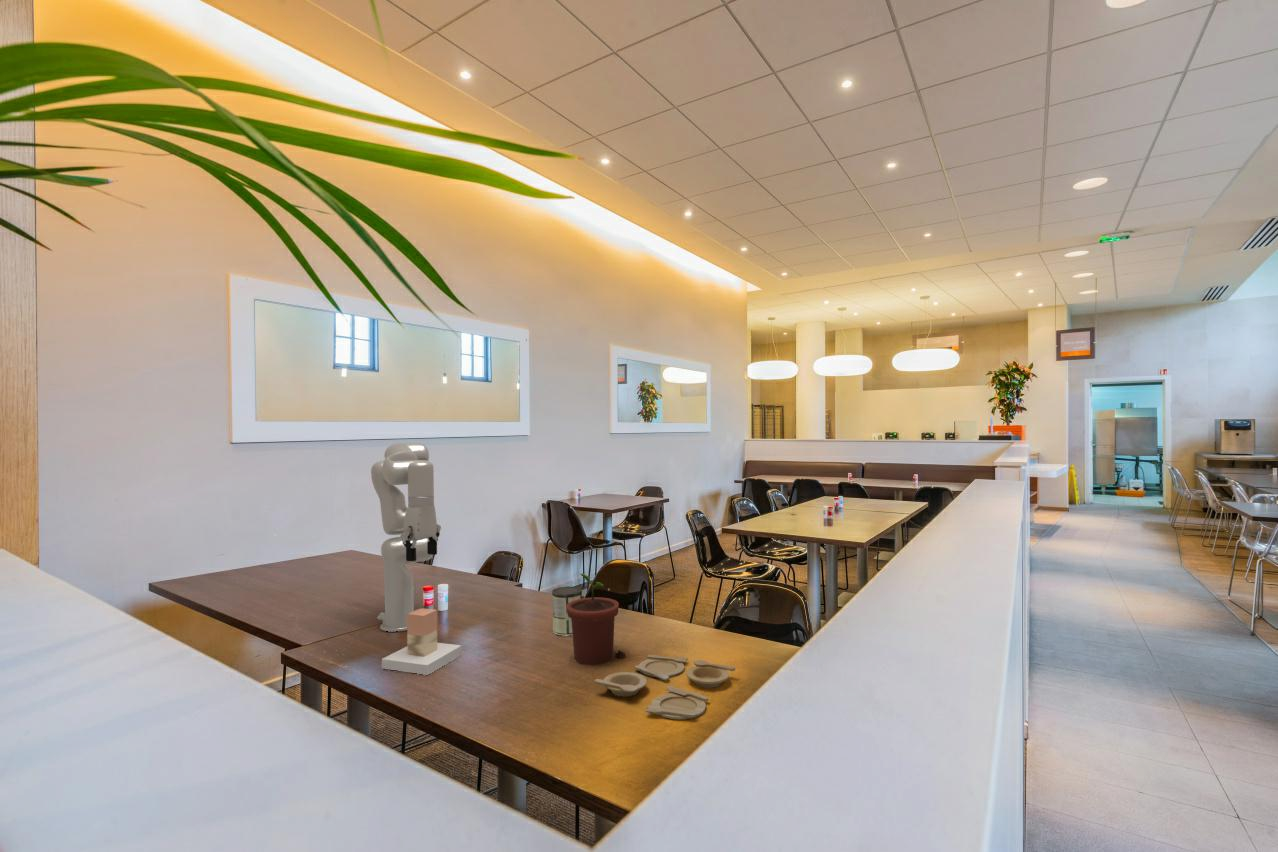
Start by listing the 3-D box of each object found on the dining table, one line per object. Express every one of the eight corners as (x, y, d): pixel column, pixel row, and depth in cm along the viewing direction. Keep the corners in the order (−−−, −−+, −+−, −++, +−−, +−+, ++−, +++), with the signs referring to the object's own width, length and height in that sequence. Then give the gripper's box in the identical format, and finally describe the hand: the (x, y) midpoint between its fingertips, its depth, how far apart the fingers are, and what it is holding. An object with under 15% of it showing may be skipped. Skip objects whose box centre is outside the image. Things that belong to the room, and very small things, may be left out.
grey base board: (381, 669, 175) (381, 659, 175) (418, 649, 191) (418, 640, 191) (427, 675, 170) (427, 665, 170) (461, 655, 185) (461, 645, 185)
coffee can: (562, 625, 212) (562, 585, 213) (588, 628, 208) (587, 587, 208) (546, 634, 203) (545, 592, 203) (572, 638, 199) (572, 595, 199)
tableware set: (687, 731, 138) (687, 713, 138) (584, 702, 153) (584, 686, 153) (745, 676, 168) (744, 661, 168) (654, 656, 183) (654, 643, 183)
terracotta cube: (407, 634, 179) (407, 614, 179) (421, 627, 184) (420, 608, 184) (424, 636, 177) (423, 615, 177) (437, 629, 182) (437, 609, 182)
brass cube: (407, 654, 179) (407, 634, 179) (421, 647, 184) (420, 627, 184) (424, 656, 177) (424, 636, 177) (437, 649, 182) (437, 629, 182)
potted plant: (552, 659, 181) (550, 576, 181) (597, 638, 199) (596, 562, 199) (598, 672, 171) (597, 584, 171) (641, 648, 189) (640, 568, 189)
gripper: (429, 498, 195) (430, 551, 195) (391, 505, 178) (392, 563, 178) (448, 499, 192) (449, 552, 192) (412, 505, 176) (412, 564, 176)
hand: (421, 557), depth 185 cm, fingers open, 9 cm apart
